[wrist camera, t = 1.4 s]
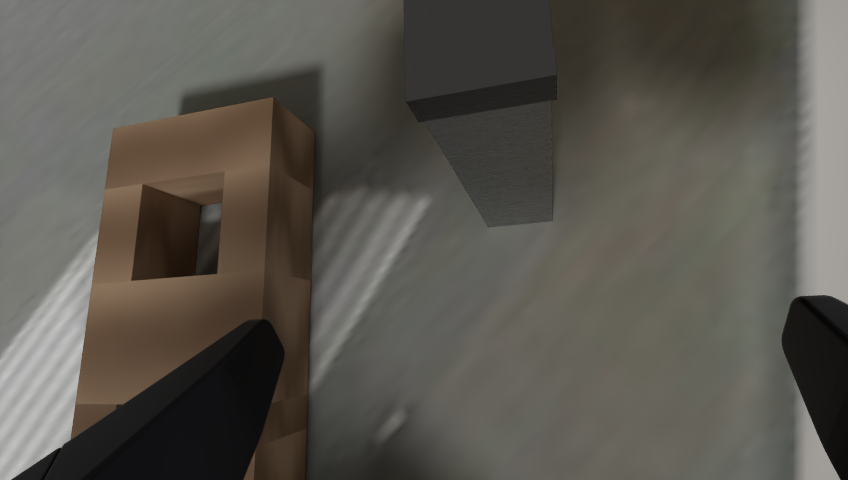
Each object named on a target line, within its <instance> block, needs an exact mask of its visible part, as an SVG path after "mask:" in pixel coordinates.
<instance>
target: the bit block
mask: <svg viewBox="0 0 848 480" xmlns="http://www.w3.org/2000/svg"><path fill="white" fill-rule="evenodd" d="M314 146H315V132H314V131H312V130H311V129H310V128H309V127H308V126H307V125H305V124H304V123H303V122H302V121H301V120H300V119H298V118H297V117H296V116H295V115H294V114H293V113H291V112H290V111H289V110H288V109H287V108H286V107H284V106H283V105H282V104H281V103H280V102H278V101H277V100H276V99H275V98H274V97H271V98H266V99H261V100H256V101H251V102H246V103H240V104H235V105H230V106H225V107H220V108H215V109H210V110H205V111H200V112H195V113H190V114H185V115H180V116H175V117H169V118H164V119H159V120H154V121H149V122H144V123H139V124H134V125H129V126H124V127H119V128H114V129H113V134H112V141H111V148H110V155H109V163H108V170H107V177H106V185H105V192H104V199H103V207H102V214H101V221H100V229H99V236H98V243H97V251H96V258H95V265H94V273H93V280H92V287H91V295H90V302H89V309H88V317H87V324H86V331H85V338H84V346H83V353H82V360H81V368H80V375H79V382H78V390H77V397H76V404H75V412H74V419H73V426H72V434H71V439H73V438H74V437H76V436H77V435H79V434H80V433H82V432H83V431H85V430H86V429H87V428H89V427H90V426H92V425H93V424H95V423H96V422H98V421H99V420H101V419H102V418H104V417H105V416H107V415H108V414H110V413H111V412H112V411H114V410H115V409H117V408H118V407H120V406H121V405H123V404H124V403H126V402H127V401H129V400H130V399H132V398H133V397H135V396H136V395H138V394H139V393H140V392H142V391H143V390H145V389H146V388H148V387H149V386H151V385H152V384H154V383H155V382H157V381H158V380H160V379H161V378H163V377H164V376H166V375H167V374H168V373H170V372H171V371H173V370H174V369H176V368H177V367H179V366H180V365H182V364H183V363H185V362H186V361H188V360H189V359H191V358H192V357H194V356H195V355H196V354H198V353H199V352H201V351H202V350H204V349H205V348H207V347H208V346H210V345H211V344H213V343H214V342H216V341H217V340H219V339H220V338H221V337H223V336H224V335H226V334H227V333H229V332H230V331H232V330H233V329H235V328H236V327H238V326H239V325H241V324H242V323H244V322H245V321H247V320H250V319H267V320H269V321H270V322H271V323H272V325H273V327H274V329H275V331H276V332H277V334H278V336H279V338H280V340H281V342H282V344H283V346H284V349H285V358H284V362H283V366H282V369H281V373H280V376H279V379H278V383H277V386H276V390H275V393H274V396H273V400H272V403H271V407H270V410H269V413H268V417H267V420H266V423H265V426H264V429H263V432H262V435H261V437H260V440H259V442H258V445H257V447H256V450H255V452H254V455H253V457H252V460H251V462H250V465H249V467H248V470H247V472H246V475H245V477H244V480H305V472H306V436H307V399H308V363H309V327H310V291H311V254H312V218H313V182H314ZM216 203H222V215H221V229H220V242H219V256H218V269H217V274H211V275H199V276H195V267H196V255H197V244H198V232H199V220H200V209H201V205H209V204H216Z"/></svg>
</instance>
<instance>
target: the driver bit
mask: <svg viewBox="0 0 848 480" xmlns="http://www.w3.org/2000/svg"><path fill="white" fill-rule="evenodd" d="M404 38H405V83H406V103H407V104H408V106H409V107H410V109H411V111H412V112H413V114H414V115H415V117H416V118H417V120H418V122H423V121H425V122H426V124H427V126H428V127H429V129H430V131H431V132H432V134H433V136H434V137H435V139H436V141H437V142H438V144H439V146H440V148H441V149H442V151H443V153H444V154H445V156H446V158H447V159H448V161H449V163H450V164H451V166H452V168H453V169H454V171H455V173H456V174H457V176H458V178H459V179H460V181H461V183H462V184H463V186H464V188H465V189H466V191H467V193H468V194H469V196H470V198H471V199H472V201H473V203H474V204H475V206H476V208H477V209H478V211H479V213H480V214H481V216H482V218H483V219H484V221H485V223H486V224H487V226H488V227H495V226H505V225H516V224H526V223H537V222H547V221H553V207H552V100H557V72H556V62H555V53H554V43H553V34H552V25H551V15H550V6H549V0H404Z"/></svg>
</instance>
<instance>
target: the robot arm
mask: <svg viewBox="0 0 848 480" xmlns="http://www.w3.org/2000/svg"><path fill="white" fill-rule="evenodd" d="M782 347H783V351H784V354H785V356H786V358H787V361H788V363H789V366H790V368H791V371H792V373H793V376H794V378H795V380H796V383H797V385H798V388H799V390H800V393H801V395H802V397H803V400H804V402H805V405H806V407H807V410H808V412H809V415H810V417H811V419H812V422H813V424H814V427H815V429H816V432H817V434H818V436H819V438H820V441H821V443H822V445H823V447H824V449H825V451H826V453H827V455H828V457H829V459H830V461H831V463H832V465H833V467H834V468H835V470H836V472H837V474H838V475H839V478H840V479H841V480H848V305H847V304H846V303H844V302H842V301H840V300H838V299H836V298H834V297H831V296H826V295H821V296H820V295H819V296H800V297H797V298H795V299H794V300H793V301H792V303H791V305H790V308H789V312H788V316H787V319H786V323H785V326H784V330H783V334H782ZM284 358H285V349H284V346H283V344H282V342H281V340H280V338H279V336H278V334H277V332H276V331H275V329H274V327H273V325H272V323H271V322H270V321H269V320H267V319H250V320H247V321H245V322H244V323H242V324H241V325H239V326H238V327H236V328H235V329H233V330H232V331H230V332H229V333H227V334H226V335H224V336H223V337H221V338H220V339H219V340H217V341H216V342H214V343H213V344H211V345H210V346H208V347H207V348H205V349H204V350H202V351H201V352H199V353H198V354H196V355H195V356H194V357H192V358H191V359H189V360H188V361H186V362H185V363H183V364H182V365H180V366H179V367H177V368H176V369H174V370H173V371H171V372H170V373H168V374H167V375H166V376H164V377H163V378H161V379H160V380H158V381H157V382H155V383H154V384H152V385H151V386H149V387H148V388H146V389H145V390H143V391H142V392H140V393H139V394H138V395H136V396H135V397H133V398H132V399H130V400H129V401H127V402H126V403H124V404H123V405H121V406H120V407H118V408H117V409H115V410H114V411H112V412H111V413H110V414H108V415H107V416H105V417H104V418H102V419H101V420H99V421H98V422H96V423H95V424H93V425H92V426H90V427H89V428H87V429H86V430H85V431H83V432H82V433H80V434H79V435H77V436H76V437H74V438H73V439H71V440H70V441H68V442H67V443H65V444H64V445H63V446H62V448H58V449H56V450H55V451H53V452H52V453H50V454H49V455H47V456H46V457H45V458H43V459H42V460H40V461H39V462H37V463H36V464H34V465H33V466H31V467H30V468H28V469H27V470H25V471H24V472H22V473H21V474H19V475H18V476H16V477H15V478H13V479H12V480H244V477H245V475H246V472H247V470H248V467H249V465H250V462H251V460H252V457H253V455H254V452H255V450H256V447H257V445H258V442H259V440H260V437H261V435H262V432H263V429H264V426H265V423H266V420H267V417H268V413H269V410H270V407H271V403H272V400H273V396H274V393H275V390H276V386H277V383H278V379H279V376H280V373H281V369H282V366H283V362H284Z"/></svg>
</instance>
